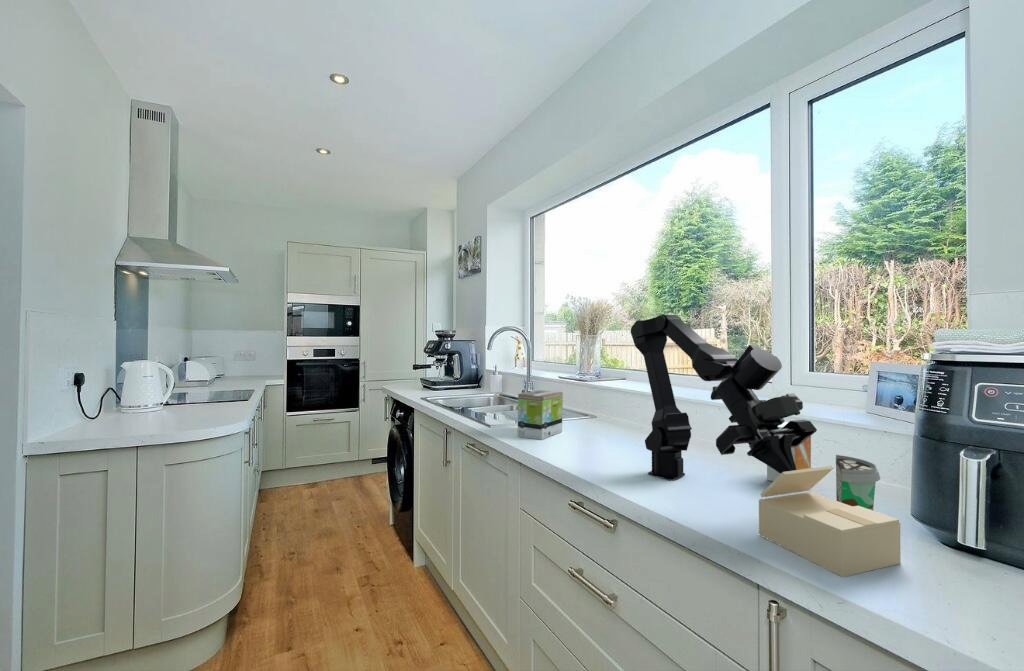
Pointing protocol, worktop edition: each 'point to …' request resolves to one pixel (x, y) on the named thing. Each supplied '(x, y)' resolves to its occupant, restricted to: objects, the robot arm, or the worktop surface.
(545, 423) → the tea box
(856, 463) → the food container
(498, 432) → the worktop surface
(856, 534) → the carton
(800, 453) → the small box
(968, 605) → the worktop surface
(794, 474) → the lid flap
